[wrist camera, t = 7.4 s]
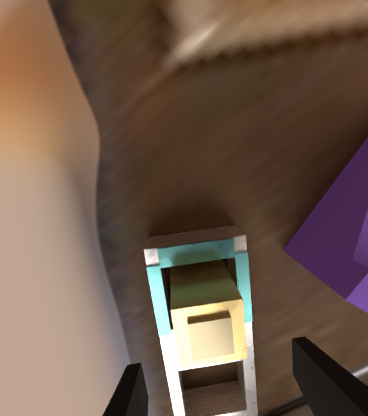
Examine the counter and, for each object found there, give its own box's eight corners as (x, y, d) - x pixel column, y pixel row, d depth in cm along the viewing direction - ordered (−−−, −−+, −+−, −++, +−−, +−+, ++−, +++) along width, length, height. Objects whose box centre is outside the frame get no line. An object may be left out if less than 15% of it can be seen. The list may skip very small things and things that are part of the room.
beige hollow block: (222, 295, 18) (249, 362, 12) (177, 302, 18) (180, 374, 12) (218, 252, 17) (244, 302, 11) (170, 260, 17) (170, 314, 11)
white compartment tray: (247, 390, 21) (259, 423, 18) (176, 402, 20) (177, 437, 18) (235, 224, 17) (246, 236, 14) (147, 237, 17) (143, 251, 14)
